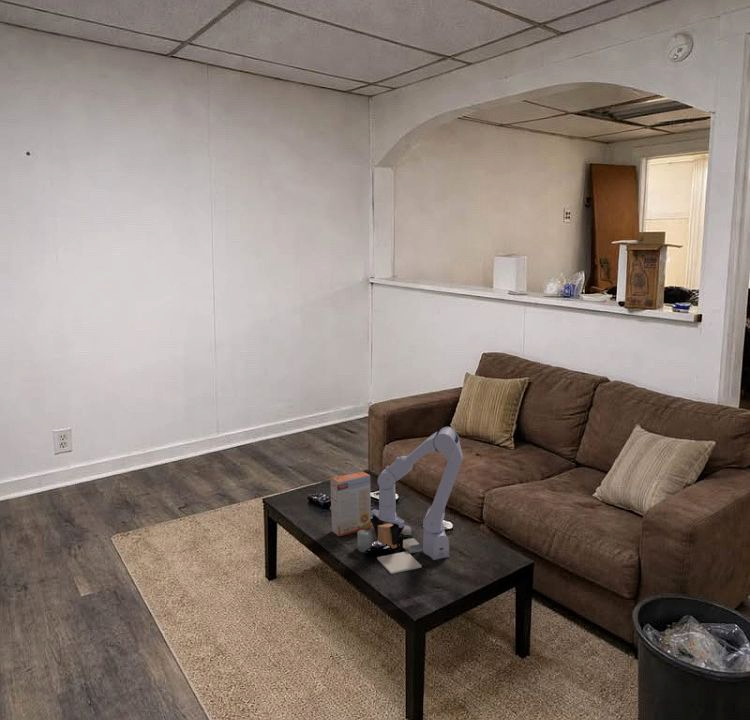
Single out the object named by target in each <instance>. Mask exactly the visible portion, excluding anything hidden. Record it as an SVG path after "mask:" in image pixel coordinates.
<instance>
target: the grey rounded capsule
mask: <svg viewBox="0 0 750 720" xmlns="http://www.w3.org/2000/svg"><path fill="white" fill-rule="evenodd" d="M356 533H357V539H356V540H357V551H358V552H361V553H366V552H365V551H366V550H367V549H368V548H370V547H371V546H372V544H373V531H372V530H370V529H363V530H359V531H358V532H356Z"/></svg>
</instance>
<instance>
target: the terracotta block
mask: <svg viewBox="0 0 750 720" xmlns="http://www.w3.org/2000/svg"><path fill="white" fill-rule="evenodd" d="M393 525H394V524H393V523H390V522H388V523H383V525H378V538H377V542H378V541H379V542H381V543H382V544H383V545H386V544H387V545H390V546H391V548H392V549H396V548H398V546H397V545H398V544H396V545H393V544H392V534H391V530H390V527H391V526H393Z"/></svg>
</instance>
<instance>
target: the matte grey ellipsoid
mask: <svg viewBox="0 0 750 720" xmlns="http://www.w3.org/2000/svg"><path fill="white" fill-rule="evenodd" d="M401 533H402V534H404V535H411V536H412V527H411V526H410V525H406V524H405V527H404V528H403V530H402V532H401Z"/></svg>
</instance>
